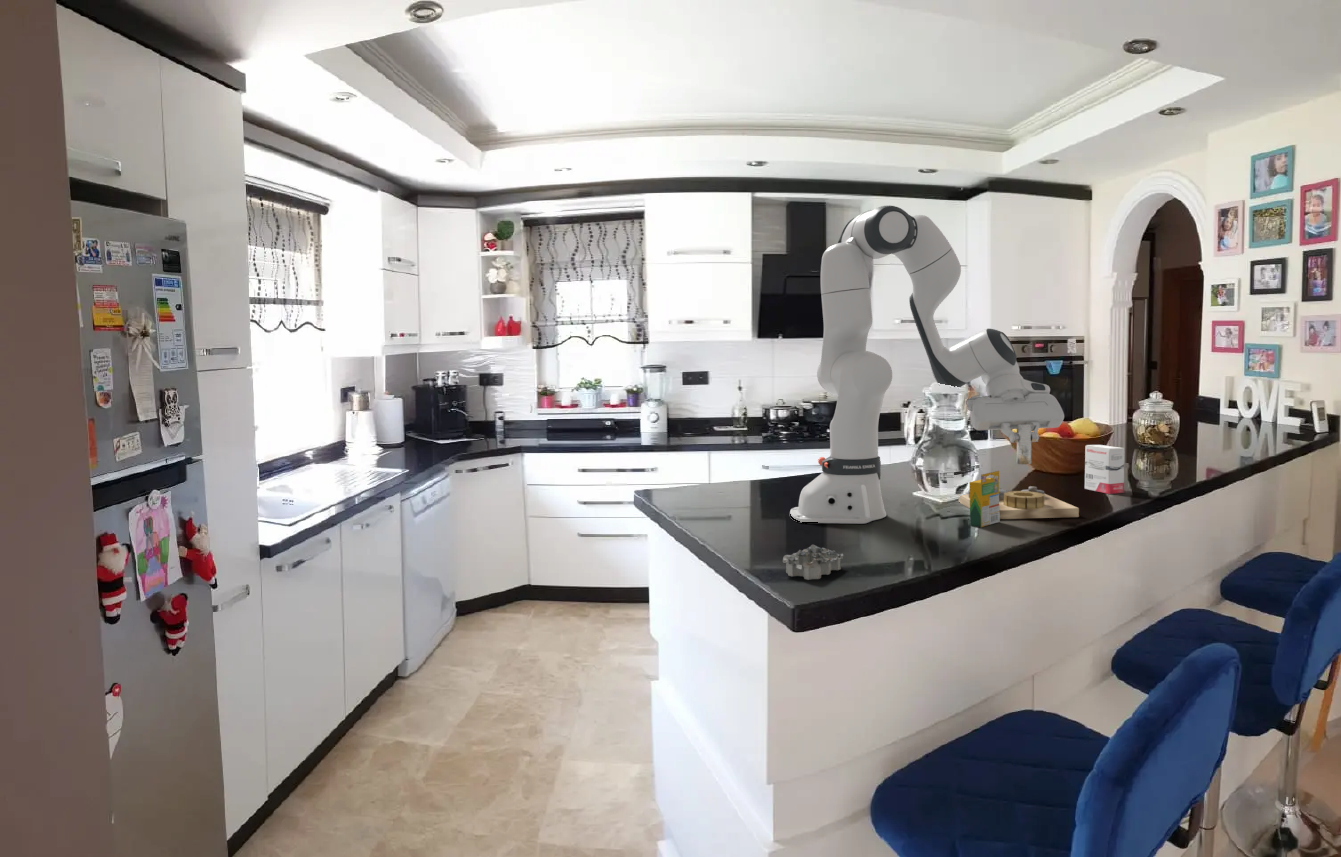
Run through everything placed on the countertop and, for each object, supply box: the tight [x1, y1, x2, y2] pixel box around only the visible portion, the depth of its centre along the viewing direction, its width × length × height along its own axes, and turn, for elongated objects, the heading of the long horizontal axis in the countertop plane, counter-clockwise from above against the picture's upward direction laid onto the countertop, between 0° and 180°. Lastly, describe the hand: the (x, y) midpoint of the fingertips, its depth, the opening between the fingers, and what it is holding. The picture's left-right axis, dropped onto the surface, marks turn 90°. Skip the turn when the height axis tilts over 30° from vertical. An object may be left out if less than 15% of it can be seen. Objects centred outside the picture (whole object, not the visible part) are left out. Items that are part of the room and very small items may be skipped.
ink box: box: [1084, 444, 1125, 495], centre depth 195 cm, size 8×5×12 cm, turn 13°
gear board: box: [958, 485, 1080, 520], centre depth 178 cm, size 20×20×4 cm
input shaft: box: [1016, 424, 1032, 465], centre depth 172 cm, size 3×3×9 cm
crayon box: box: [969, 470, 1001, 528], centre depth 165 cm, size 7×3×12 cm, turn 126°
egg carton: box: [782, 544, 845, 581], centre depth 135 cm, size 11×8×4 cm
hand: (1025, 440), depth 171 cm, fingers closed on input shaft, 3 cm apart
